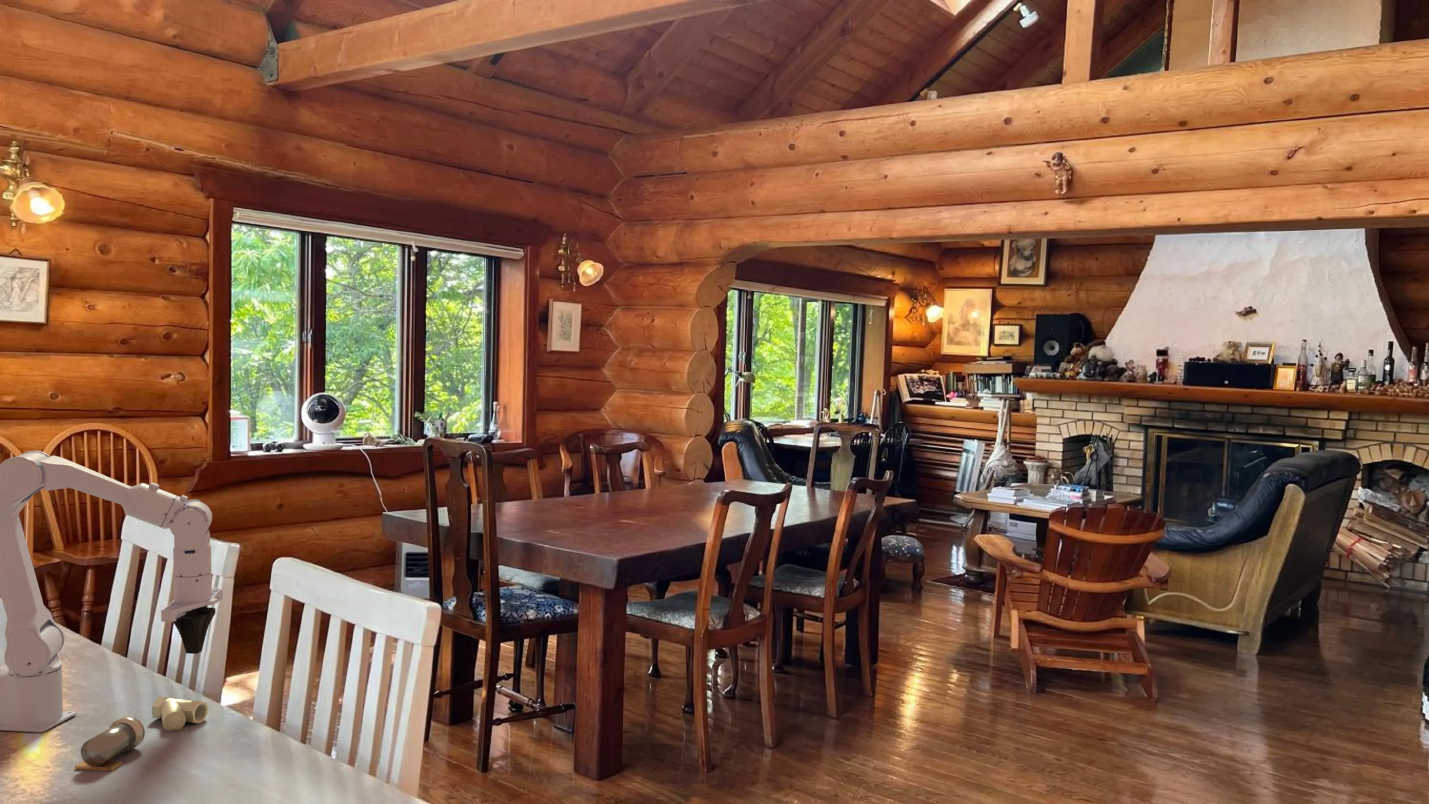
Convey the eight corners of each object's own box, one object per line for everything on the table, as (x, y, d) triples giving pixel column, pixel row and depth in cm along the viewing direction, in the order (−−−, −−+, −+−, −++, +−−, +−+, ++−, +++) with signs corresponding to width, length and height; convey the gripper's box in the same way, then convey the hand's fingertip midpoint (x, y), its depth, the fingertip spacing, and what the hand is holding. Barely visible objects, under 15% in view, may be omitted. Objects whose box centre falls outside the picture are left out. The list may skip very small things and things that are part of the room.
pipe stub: (111, 771, 149) (110, 737, 149) (74, 769, 149) (74, 735, 149) (147, 748, 157) (146, 716, 157) (112, 746, 158) (111, 715, 157)
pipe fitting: (178, 737, 163) (208, 719, 170) (176, 714, 163) (207, 696, 169) (136, 732, 165) (168, 714, 172) (134, 709, 165) (166, 692, 171)
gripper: (189, 584, 165) (191, 666, 166) (238, 564, 180) (239, 640, 181) (148, 582, 166) (149, 665, 167) (200, 563, 180) (201, 639, 181)
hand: (193, 652), depth 174 cm, fingers closed
